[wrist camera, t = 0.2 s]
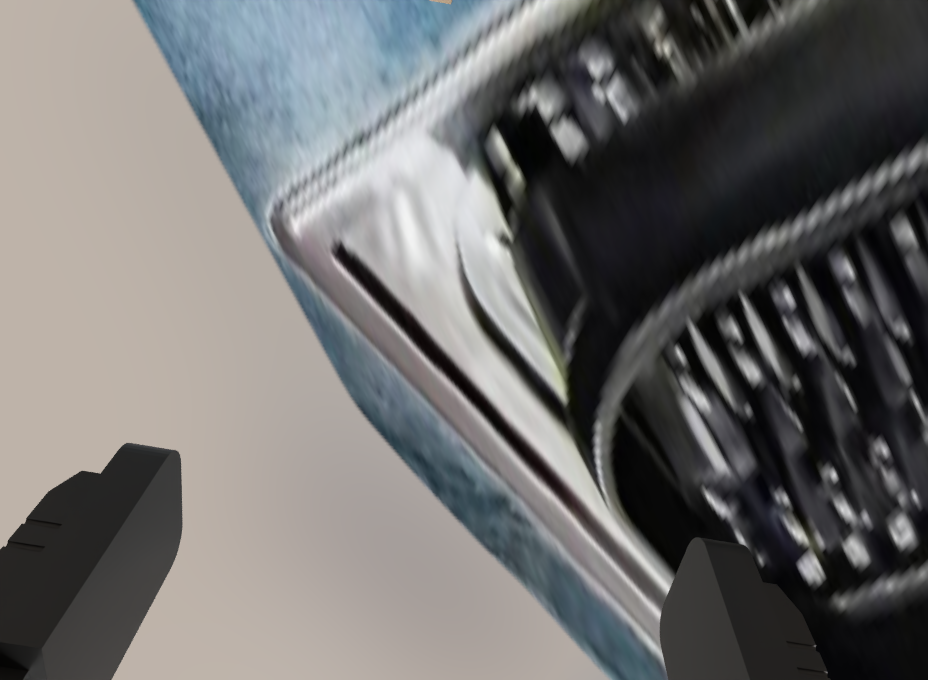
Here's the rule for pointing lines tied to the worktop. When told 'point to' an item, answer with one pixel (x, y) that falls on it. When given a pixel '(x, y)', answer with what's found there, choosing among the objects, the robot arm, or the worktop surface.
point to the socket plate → (443, 1)
